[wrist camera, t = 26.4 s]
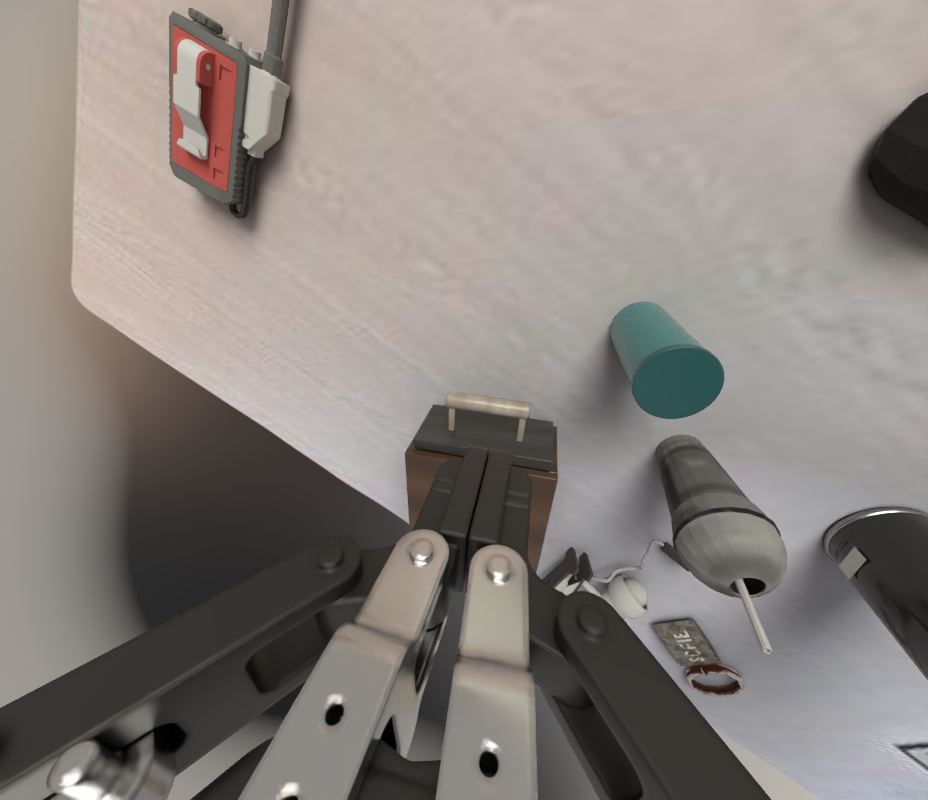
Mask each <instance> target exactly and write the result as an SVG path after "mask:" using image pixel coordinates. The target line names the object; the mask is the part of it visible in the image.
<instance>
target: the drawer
mask: <svg viewBox="0 0 928 800" xmlns="http://www.w3.org/2000/svg"><path fill="white" fill-rule="evenodd" d="M529 410H530V403H528V402H520V401H513V400H506V399H499V398H492V397H485V396H477V395H470V394H463V393H456V392H448V394H447V397H446V406H441V405H433V406H432V408H431V410H430V412H429V413H428V415H427V417H426V418H425V420H424V422H423V424H422V425H421V427H420V429H419V430H418V432H417V434H416V436H415V437H414V448H417V449H423V450H427V451H429V452H435V453H441V454H446V455H452V456H458V457H464V454H465V451H466V448H467V446H468V445H471V446H477V447H483V448H489V454H490V450H491V449H496V450H502V451H508V452H513V453H512V461H511V466H516V467H522V468H528V469H534V470H540V471H541V470H546V471H551V469H552V465H553V422H550V421H543V420H536V419H529V418H528V417H529Z"/></svg>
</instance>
